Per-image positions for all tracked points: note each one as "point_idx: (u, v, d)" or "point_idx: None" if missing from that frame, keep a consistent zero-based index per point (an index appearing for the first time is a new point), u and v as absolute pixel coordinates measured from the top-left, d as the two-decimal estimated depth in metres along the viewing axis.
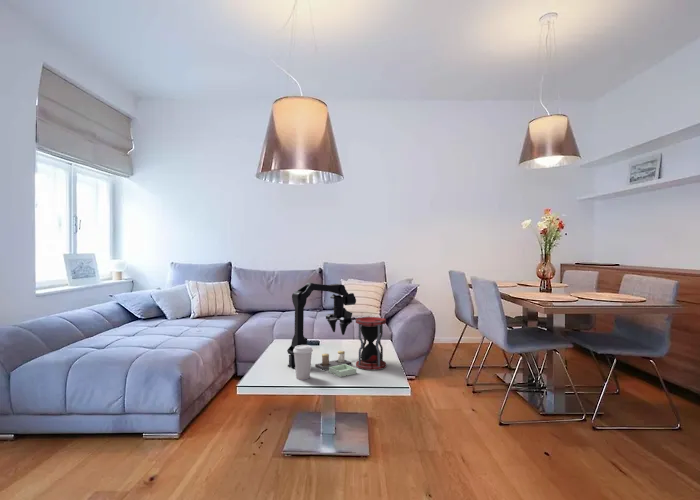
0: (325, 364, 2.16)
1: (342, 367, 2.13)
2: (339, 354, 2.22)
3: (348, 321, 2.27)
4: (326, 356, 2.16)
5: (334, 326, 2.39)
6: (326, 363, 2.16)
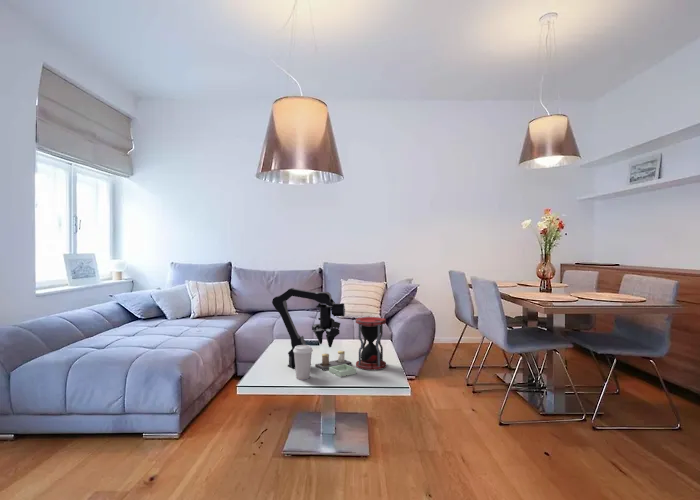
0: (325, 364, 2.16)
1: (342, 367, 2.13)
2: (339, 354, 2.22)
3: (335, 333, 2.10)
4: (326, 356, 2.16)
5: (321, 337, 2.21)
6: (326, 363, 2.16)
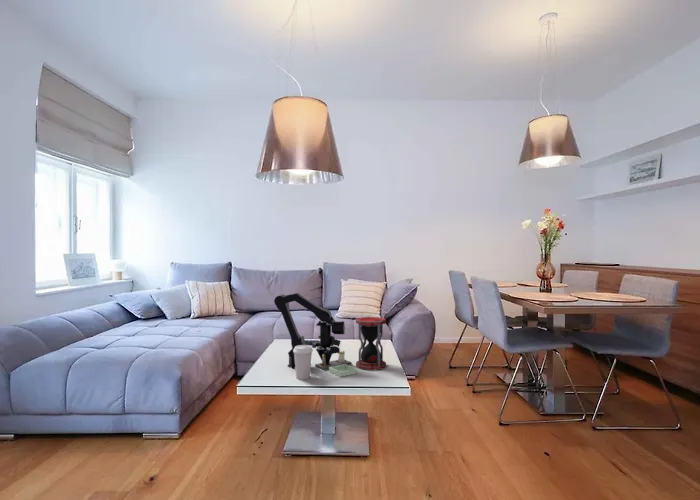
0: (325, 364, 2.16)
1: (342, 367, 2.13)
2: (339, 354, 2.22)
3: (335, 351, 2.10)
4: None
5: None
6: None
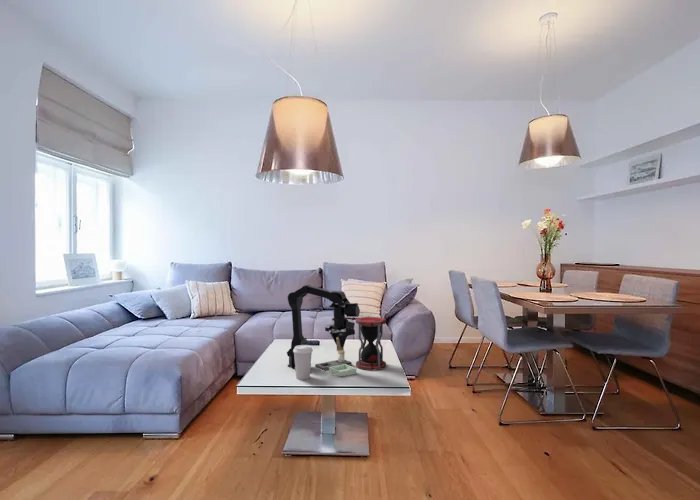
0: (340, 347, 2.08)
1: (342, 367, 2.13)
2: (339, 354, 2.22)
3: (350, 333, 2.03)
4: None
5: None
6: None
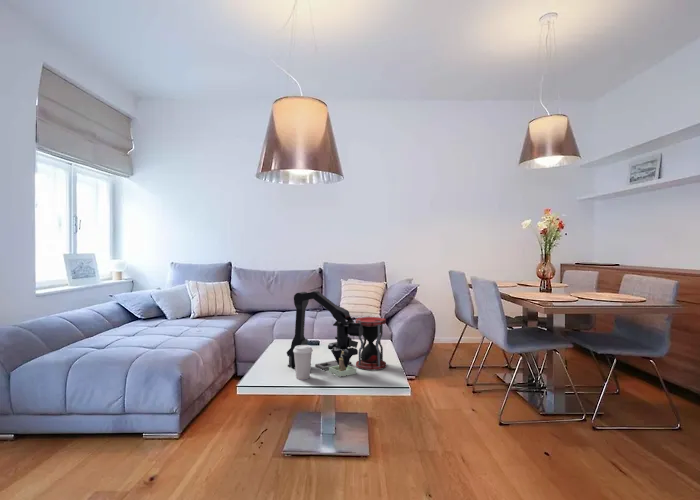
0: (342, 368, 2.06)
1: None
2: None
3: (353, 353, 2.01)
4: None
5: (339, 357, 2.11)
6: (343, 367, 2.07)
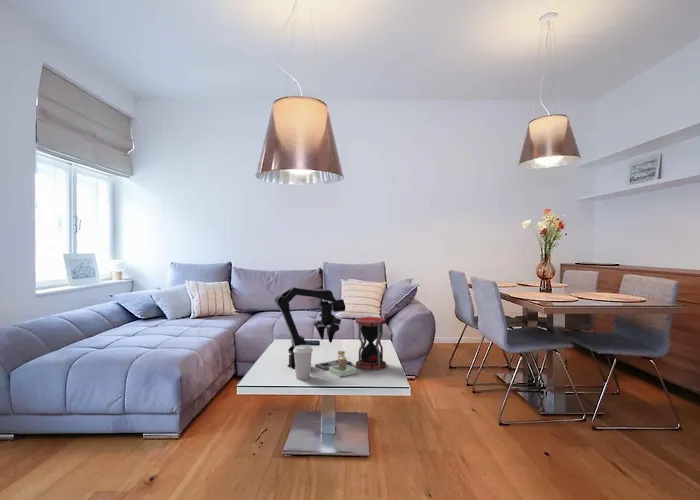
0: (342, 368, 2.06)
1: None
2: (339, 354, 2.22)
3: (335, 328, 2.19)
4: (343, 360, 2.06)
5: (322, 333, 2.31)
6: (343, 367, 2.06)
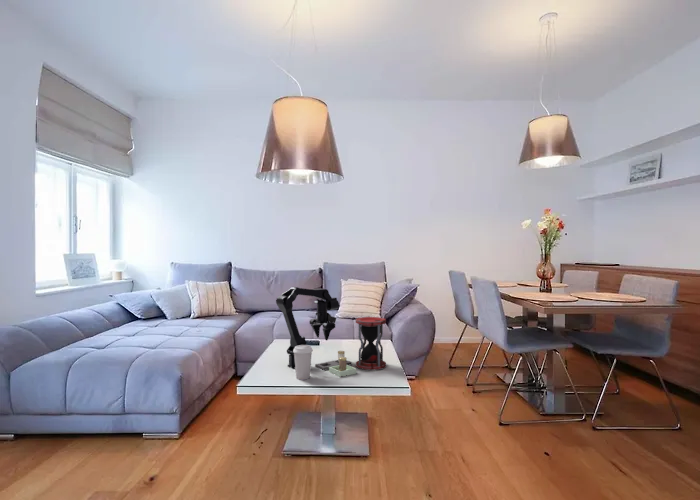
0: (342, 368, 2.06)
1: None
2: (339, 354, 2.22)
3: (331, 326, 2.24)
4: (343, 360, 2.07)
5: (318, 331, 2.35)
6: (343, 367, 2.06)
